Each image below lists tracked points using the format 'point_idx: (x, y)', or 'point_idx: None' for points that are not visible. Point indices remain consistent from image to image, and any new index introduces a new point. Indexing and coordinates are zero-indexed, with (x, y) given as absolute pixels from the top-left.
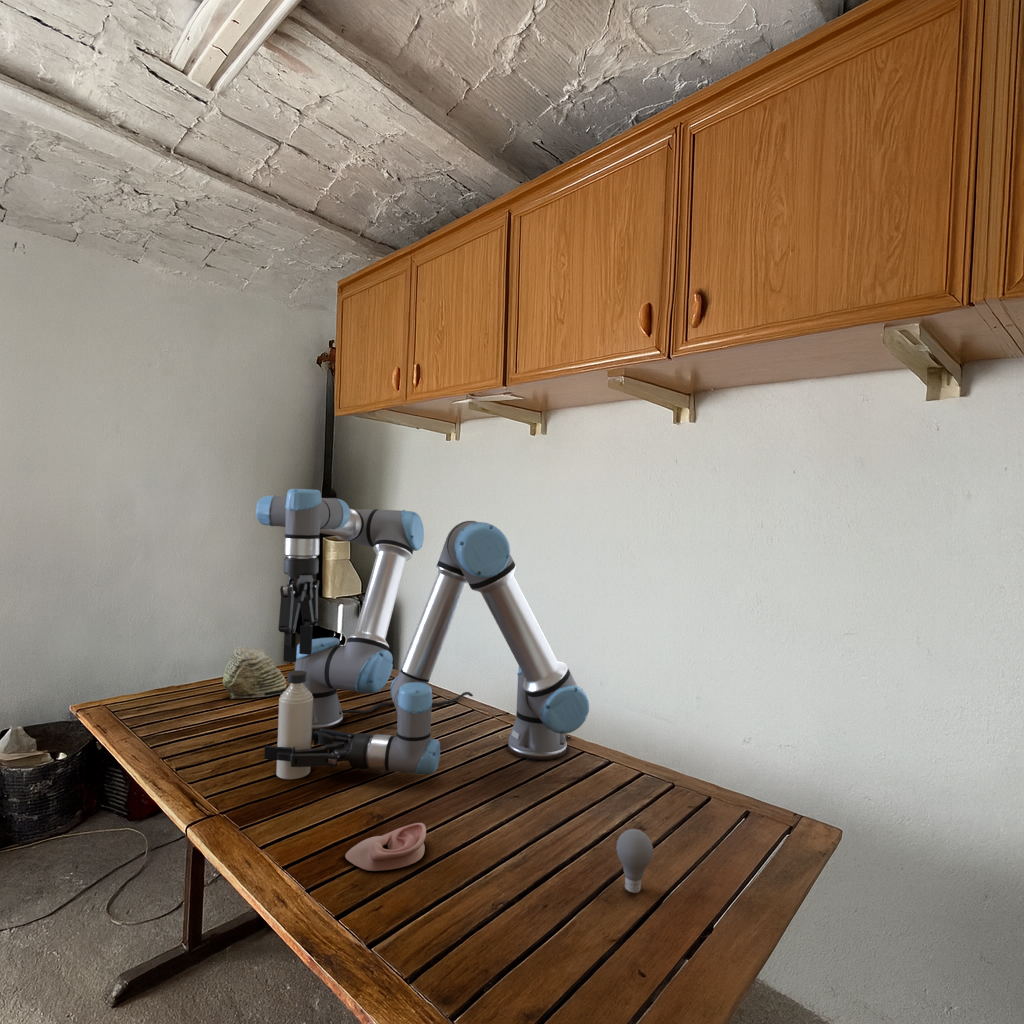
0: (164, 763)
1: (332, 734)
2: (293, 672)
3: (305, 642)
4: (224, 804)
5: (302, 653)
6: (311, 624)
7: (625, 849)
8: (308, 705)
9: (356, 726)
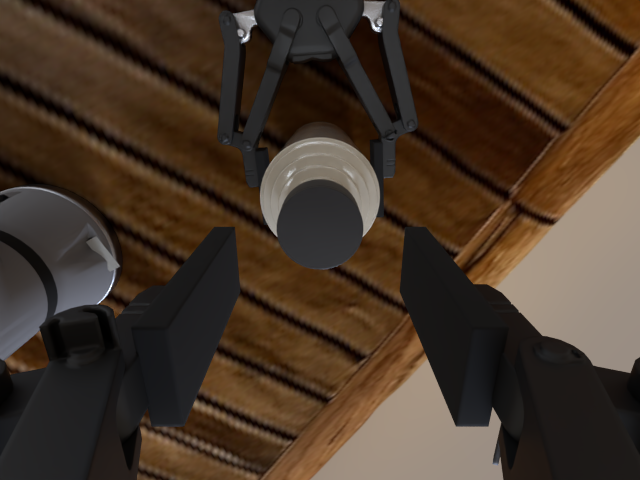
0: (345, 388)
1: (236, 96)
2: (318, 248)
3: (218, 293)
4: (476, 210)
5: (238, 274)
6: (122, 352)
7: None
8: (337, 138)
9: (20, 140)
